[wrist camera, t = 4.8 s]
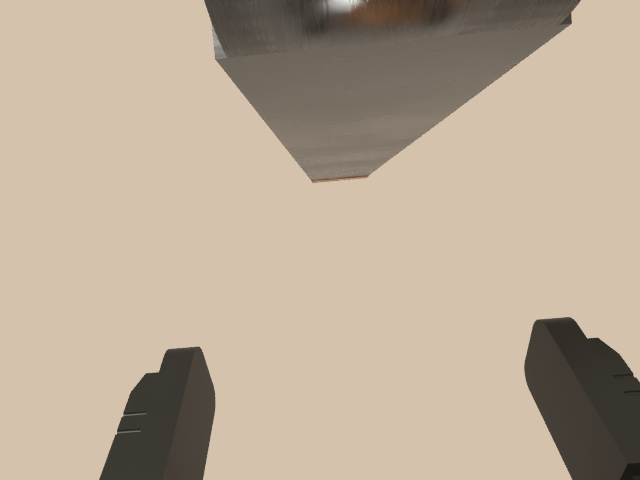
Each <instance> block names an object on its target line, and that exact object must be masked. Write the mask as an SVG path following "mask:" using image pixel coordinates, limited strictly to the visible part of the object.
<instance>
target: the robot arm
mask: <svg viewBox="0 0 640 480" xmlns="http://www.w3.org/2000/svg"><path fill="white" fill-rule="evenodd" d="M524 368H525V377H526V382H527V385H528V387H529V390H530V392H531V394H532V396H533V398H534V400H535V403H536V405H537V407H538V409H539V411H540V413H541V415H542V417H543V419H544V421H545V423H546V425H547V428H548V430H549V432H550V434H551V436H552V438H553V440H554V442H555V444H556V446H557V448H558V450H559V452H560V455H561V456H562V459H563V461H564V463H565V465H566V467H567V469H568V471H569V473H570V475H571V477H572V480H640V382H639V381H638V379H637V378H634V376H633V372H632V371H631V370H630V368H629V367H628V366H627V364H626V363H625V361H624V360H623V359H622V357H621V356H620V354H618V353H617V352H616V351H615V350H613V349H612V348H610V347H609V346H608V345H607V344H605V343H604V342H603V341H601V340H600V339H599V338H589V339H587V338H586V336H585V335H584V333H583V332H582V330H581V329H580V327H579V326H578V325H577V323H576V322H575V321H574V319H572V318H570V317H565V318H553V319H542V320H536V321H535V323H534V325H533V329H532V333H531V338H530V343H529V346H528V350H527V355H526V359H525V366H524ZM214 413H215V391H214V386H213V383H212V380H211V377H210V374H209V371H208V368H207V365H206V361H205V358H204V355H203V352H202V350H201V348H200V347H189V348H178V349H168V350H167V351H166V353H165V355H164V358H163V361H162V364H161V368H160V371H159V373H146V374H145V375H144V377H143V378H142V379H141V380H140V382H139V383H138V384H137V385H136V387H135V388H134V389H133V390H132V391H131V393H130V396H129V399H128V402H127V404H126V407H125V410H124V416H123V417H122V418H121V421H120V424H119V427H118V429H117V435H115V438H114V440H113V443H112V446H111V449H110V451H109V454H108V457H107V460H106V463H105V466H104V468H103V471H102V474H101V476H100V479H99V480H203V476H204V470H205V464H206V458H207V453H208V447H209V441H210V436H211V430H212V424H213V419H214Z"/></svg>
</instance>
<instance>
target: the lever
mask: <svg viewBox="0 0 640 480" xmlns="http://www.w3.org/2000/svg"><path fill="white" fill-rule="evenodd" d="M580 1H581V0H205V4H206V7H207V10H208V13H209V16H210V18H211V22H212V32H213V41H214V51H215V59H216V61H217V62H218V63H219V64H220V66H221V67H222V68H223V69H224V71H225V72H226V73H227V74H228V76H229V77H230V78H231V79H232V81H233V82H234V83H235V85H236V86H237V87H238V88H239V90H240V91H241V92H242V93H243V95H244V96H245V97H246V98H247V100H248V101H249V102H250V104H252V106H253V107H254V109H255V110H256V111H257V112H258V114H259V115H260V116H261V117H262V119H263V120H264V121H265V122H266V124H267V125H268V126H269V128H270V129H271V130H272V131H273V133H274V134H275V135H276V136H277V138H278V139H279V140H280V141H281V143H282V144H283V145H284V146H285V148H286V149H287V150H288V151H289V153H290V154H291V155H292V157H293V158H294V159H295V160H296V162H297V163H298V164H299V165H300V166H301V168H302V169H303V170H304V172H305V173H306V174H307V176H308V177H309V178H310V179H311V181H312V183H317V182H328V181H339V180H350V179H360V178H367V177H368V176H369V175H370V174H371V173H372V172H373V171H375V170H376V169H378V168H379V167H380V166H382V165H383V164H384V163H386V162H387V161H388V160H390V159H391V158H392V157H394V156H395V155H396V154H398V153H399V152H400V151H402V150H403V149H405V148H406V147H407V146H408V145H410V144H411V143H413V142H414V141H415V140H416V139H418V138H419V137H421V136H422V135H423V134H425V133H426V132H427V131H429V130H430V129H431V128H432V127H434V126H435V125H437V124H438V123H439V122H441V121H442V120H443V119H445V118H446V117H447V116H449V115H450V114H451V113H453V112H454V111H455V110H457V109H458V108H459V107H460V106H462V105H463V104H464V103H466V102H467V101H469V100H470V99H471V98H473V97H474V96H475V95H477V94H478V93H479V92H481V91H482V90H483V89H485V88H486V87H487V86H489V85H490V84H491V83H493V82H494V81H495V80H497V79H498V78H500V77H501V76H502V75H503V74H505V73H506V72H508V71H509V70H510V69H512V68H513V67H514V66H516V65H517V64H518V63H520V62H521V61H522V60H524V59H525V58H526V57H528V56H529V55H530V54H532V53H533V52H534V51H536V50H537V49H538V48H540V47H541V46H542V45H544V44H545V43H546V42H548V41H549V40H550V39H552V38H553V37H554V36H556V35H557V34H558V33H560V32H561V31H562V30H564V29H565V28H566V27H568V26H569V25H570V24H571V23H572V20H571V12H572V11H573V10H574V8H575V7H576V6H577V4H578V3H579V2H580Z"/></svg>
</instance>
